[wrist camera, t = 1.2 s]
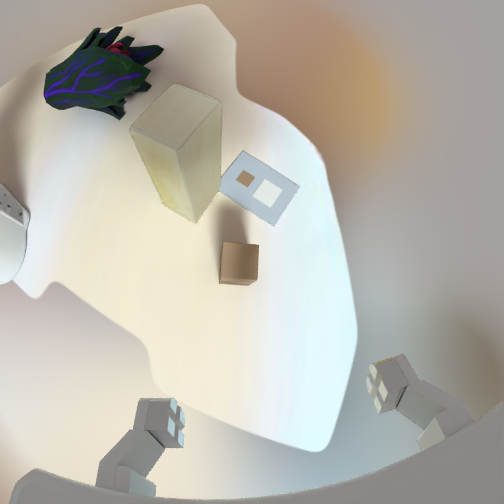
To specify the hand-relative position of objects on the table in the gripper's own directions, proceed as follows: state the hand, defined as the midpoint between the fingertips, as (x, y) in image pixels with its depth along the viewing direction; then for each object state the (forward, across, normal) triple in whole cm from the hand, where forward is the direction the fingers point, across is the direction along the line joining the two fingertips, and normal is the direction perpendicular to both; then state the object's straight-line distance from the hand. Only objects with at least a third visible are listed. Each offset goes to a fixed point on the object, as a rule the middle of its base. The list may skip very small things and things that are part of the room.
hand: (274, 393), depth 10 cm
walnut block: (+32, +3, +13) cm, 34 cm away
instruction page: (+40, -3, +2) cm, 41 cm away
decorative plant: (+53, +22, -20) cm, 61 cm away
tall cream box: (+39, +8, +1) cm, 40 cm away
